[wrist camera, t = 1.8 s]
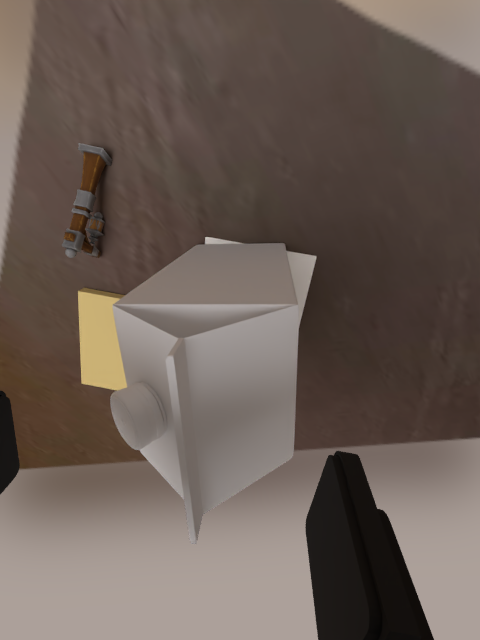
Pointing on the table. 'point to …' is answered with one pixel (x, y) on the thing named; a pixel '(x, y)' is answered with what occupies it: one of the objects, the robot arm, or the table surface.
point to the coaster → (99, 340)
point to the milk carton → (211, 370)
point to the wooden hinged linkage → (87, 204)
